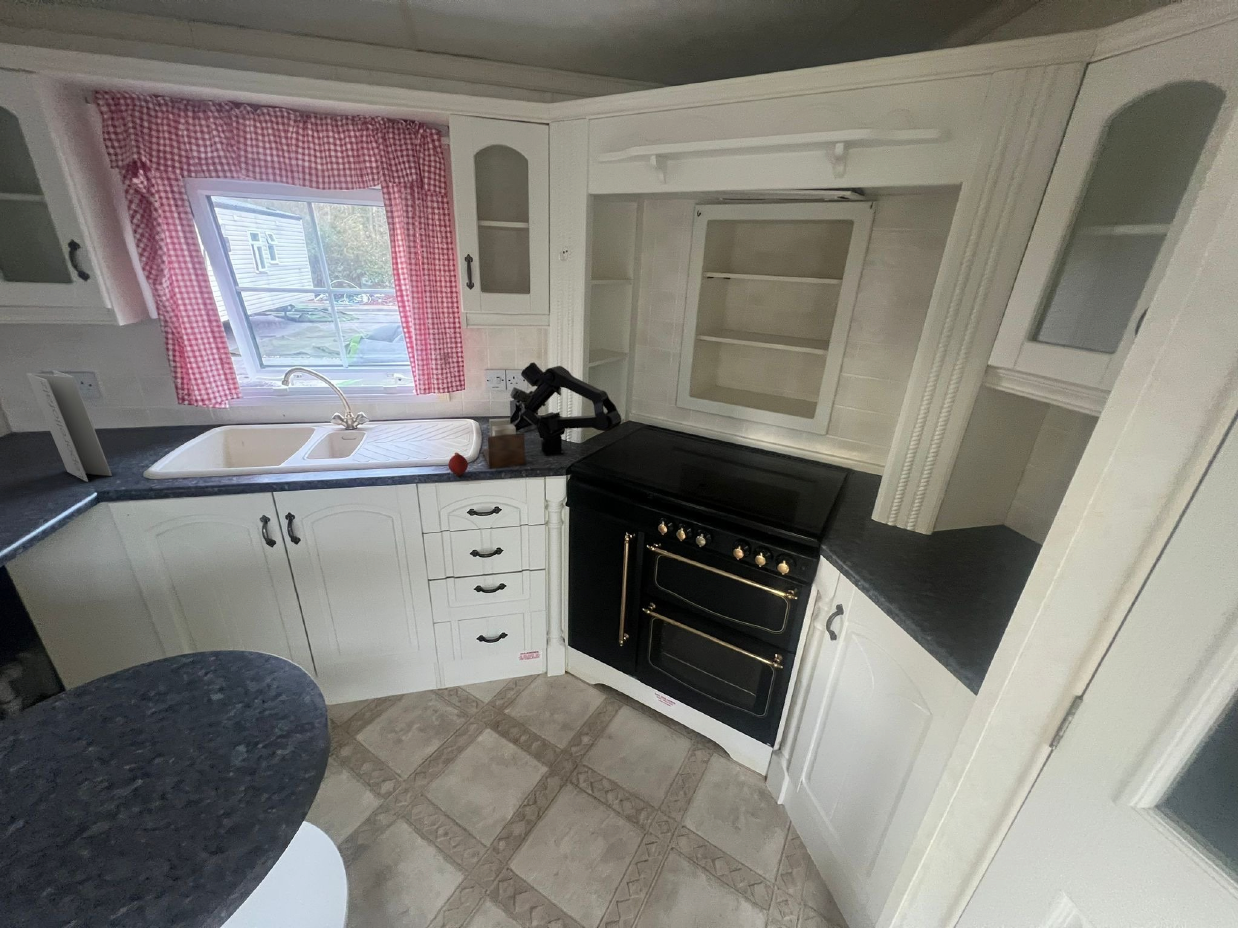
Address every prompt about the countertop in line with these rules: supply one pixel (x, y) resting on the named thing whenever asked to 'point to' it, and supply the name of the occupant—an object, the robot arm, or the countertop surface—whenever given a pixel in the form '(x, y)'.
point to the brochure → (69, 424)
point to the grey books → (512, 408)
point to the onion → (458, 464)
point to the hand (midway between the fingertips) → (510, 427)
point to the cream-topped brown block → (505, 447)
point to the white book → (498, 423)
